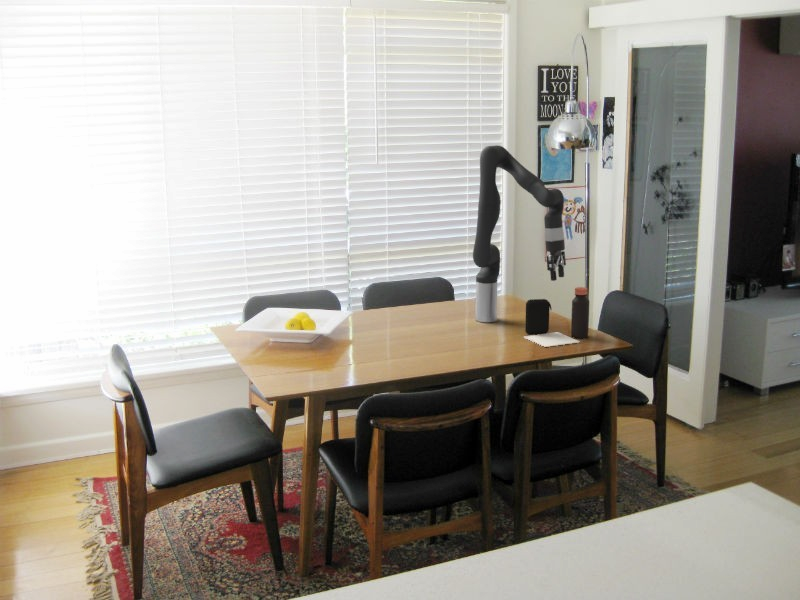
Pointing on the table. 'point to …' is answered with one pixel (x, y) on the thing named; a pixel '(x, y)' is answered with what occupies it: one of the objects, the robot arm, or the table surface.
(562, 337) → the cream paper sheet
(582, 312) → the bottle
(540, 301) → the carrying case or bag
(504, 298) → the table surface
